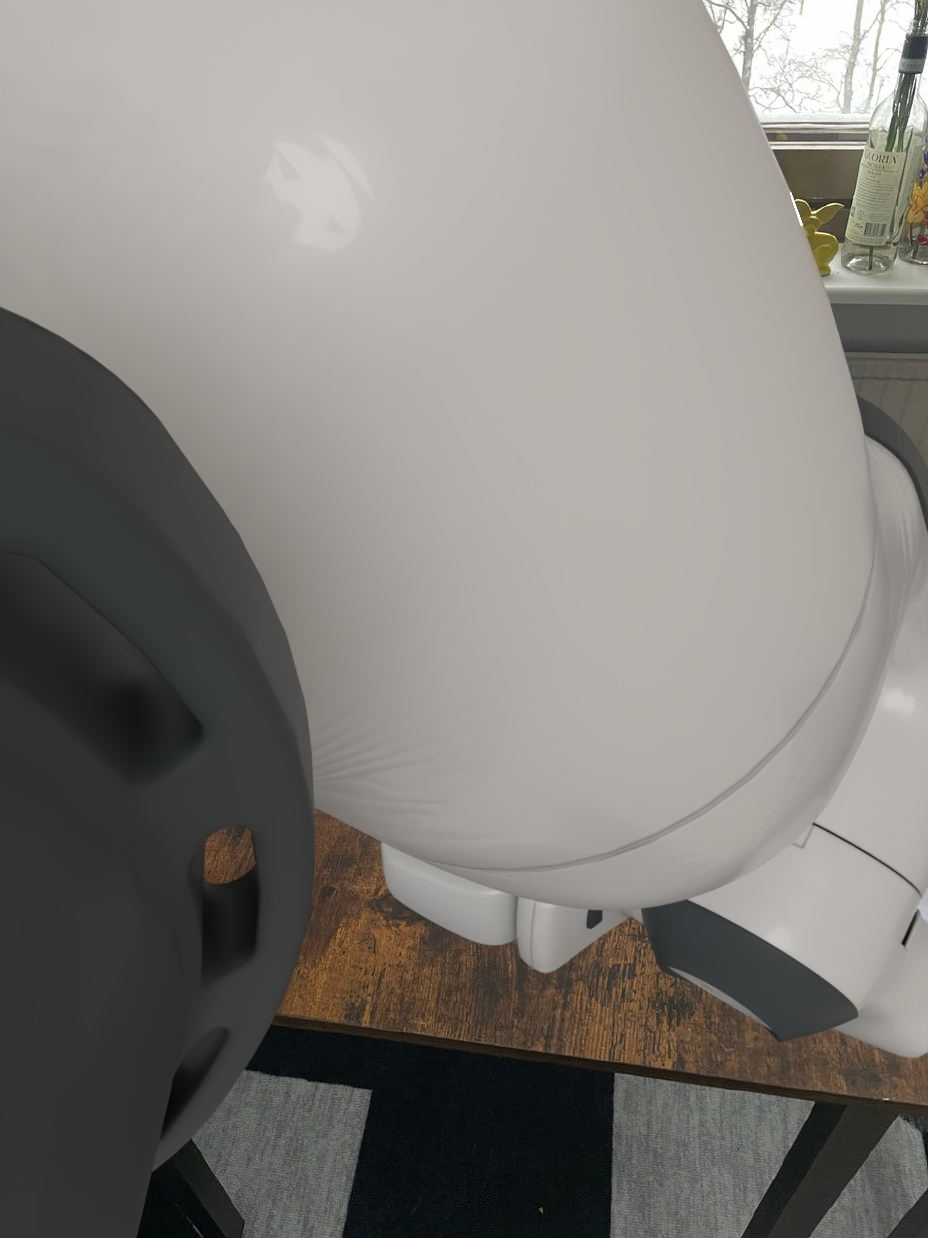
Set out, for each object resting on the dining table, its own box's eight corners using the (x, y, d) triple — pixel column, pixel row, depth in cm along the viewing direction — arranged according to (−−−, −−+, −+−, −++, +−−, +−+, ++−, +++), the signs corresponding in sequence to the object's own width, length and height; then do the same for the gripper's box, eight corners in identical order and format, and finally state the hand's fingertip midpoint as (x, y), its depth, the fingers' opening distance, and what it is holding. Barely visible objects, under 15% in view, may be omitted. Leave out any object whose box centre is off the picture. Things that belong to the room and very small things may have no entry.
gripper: (727, 658, 52) (521, 572, 58) (527, 934, 40) (295, 787, 46) (710, 732, 56) (520, 645, 62) (526, 1002, 44) (314, 859, 50)
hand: (423, 707), depth 54 cm, fingers closed on beverage can, 6 cm apart
